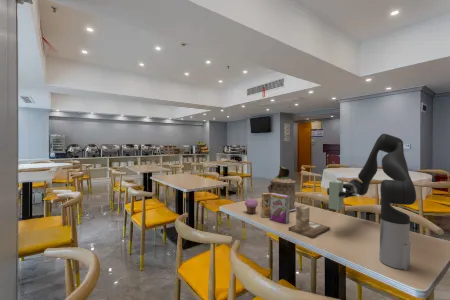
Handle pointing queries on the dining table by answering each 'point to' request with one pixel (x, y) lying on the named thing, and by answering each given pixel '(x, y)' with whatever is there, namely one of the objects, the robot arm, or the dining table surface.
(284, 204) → the candy bar box
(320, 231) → the base board
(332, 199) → the green block
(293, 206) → the cookie jar
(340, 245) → the dining table surface
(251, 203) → the cupcake
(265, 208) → the candy box
